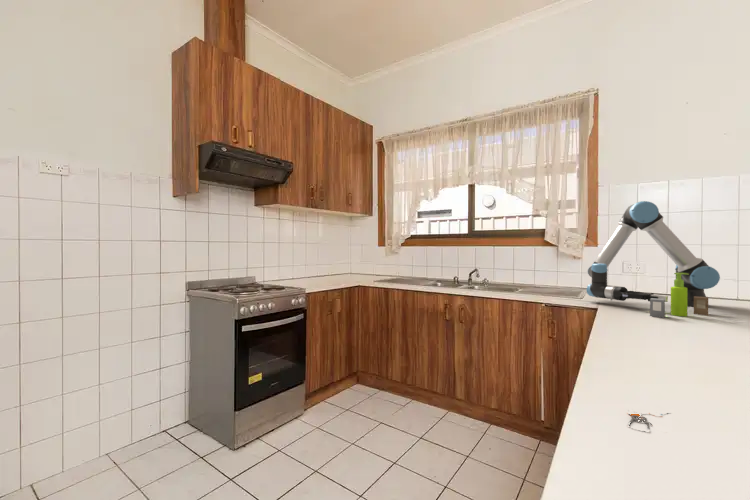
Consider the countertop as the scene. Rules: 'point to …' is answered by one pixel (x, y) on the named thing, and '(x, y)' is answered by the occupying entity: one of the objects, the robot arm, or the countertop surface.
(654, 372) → the countertop surface
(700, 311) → the brown wooden block
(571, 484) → the countertop surface
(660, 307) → the grey rectangular block
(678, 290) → the soap dispenser
